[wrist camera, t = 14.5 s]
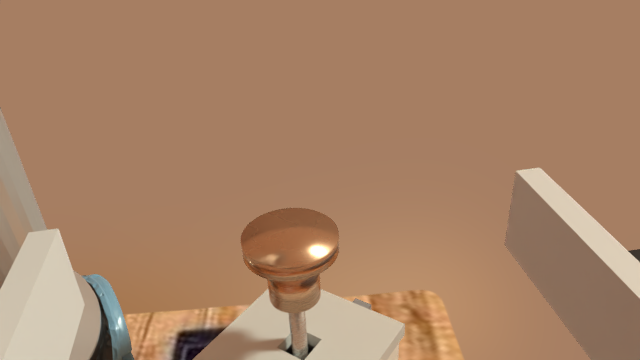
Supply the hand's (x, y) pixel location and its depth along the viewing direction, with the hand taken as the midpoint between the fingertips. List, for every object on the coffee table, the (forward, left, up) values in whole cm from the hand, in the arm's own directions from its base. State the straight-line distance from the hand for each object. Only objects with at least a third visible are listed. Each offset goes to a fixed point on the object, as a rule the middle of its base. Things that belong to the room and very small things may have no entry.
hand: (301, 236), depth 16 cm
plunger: (-11, +13, -34) cm, 38 cm away
